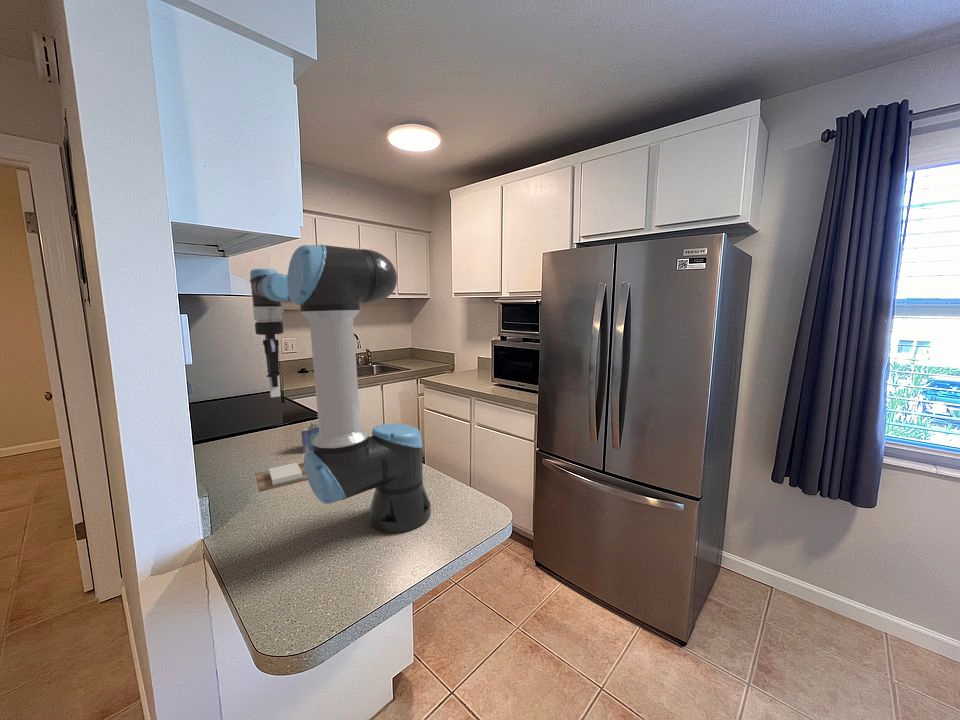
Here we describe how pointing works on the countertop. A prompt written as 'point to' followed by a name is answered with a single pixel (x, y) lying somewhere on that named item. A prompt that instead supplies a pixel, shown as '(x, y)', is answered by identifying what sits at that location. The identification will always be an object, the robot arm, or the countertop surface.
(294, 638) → the countertop surface
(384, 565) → the countertop surface
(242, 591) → the countertop surface
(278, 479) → the tile
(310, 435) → the flask
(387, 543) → the countertop surface
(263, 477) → the board
